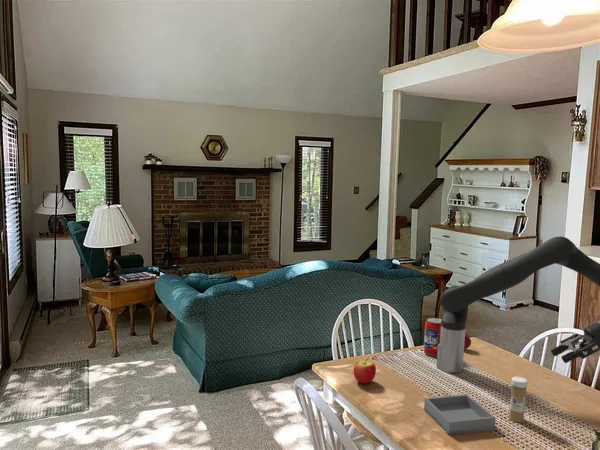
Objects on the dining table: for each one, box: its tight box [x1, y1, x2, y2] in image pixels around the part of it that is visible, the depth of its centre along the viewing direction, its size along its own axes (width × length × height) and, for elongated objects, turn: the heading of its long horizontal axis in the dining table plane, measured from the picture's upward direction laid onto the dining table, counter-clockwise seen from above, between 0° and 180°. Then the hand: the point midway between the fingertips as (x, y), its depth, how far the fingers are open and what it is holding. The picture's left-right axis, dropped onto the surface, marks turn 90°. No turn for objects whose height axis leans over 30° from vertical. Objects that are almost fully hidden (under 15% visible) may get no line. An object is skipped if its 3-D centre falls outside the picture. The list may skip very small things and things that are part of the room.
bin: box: [423, 394, 496, 436], centre depth 154 cm, size 16×16×4 cm
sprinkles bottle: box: [508, 376, 528, 423], centre depth 155 cm, size 5×5×14 cm
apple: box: [353, 357, 377, 384], centre depth 180 cm, size 8×8×10 cm
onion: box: [464, 331, 472, 351], centre depth 215 cm, size 6×6×8 cm
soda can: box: [423, 317, 442, 357], centre depth 209 cm, size 8×8×15 cm
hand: (557, 356), depth 153 cm, fingers open, 8 cm apart
